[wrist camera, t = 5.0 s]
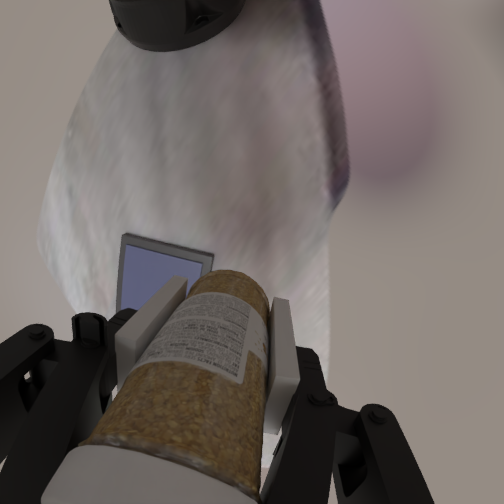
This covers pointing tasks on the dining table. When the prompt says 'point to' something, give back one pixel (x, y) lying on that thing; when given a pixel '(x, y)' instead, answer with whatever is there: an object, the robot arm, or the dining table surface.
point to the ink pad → (154, 269)
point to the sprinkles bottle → (183, 409)
